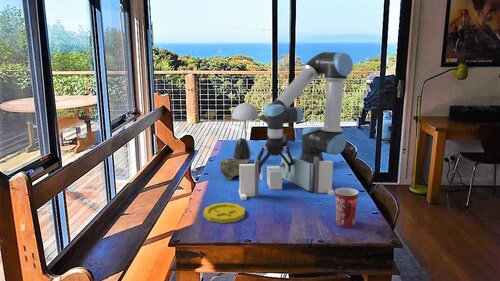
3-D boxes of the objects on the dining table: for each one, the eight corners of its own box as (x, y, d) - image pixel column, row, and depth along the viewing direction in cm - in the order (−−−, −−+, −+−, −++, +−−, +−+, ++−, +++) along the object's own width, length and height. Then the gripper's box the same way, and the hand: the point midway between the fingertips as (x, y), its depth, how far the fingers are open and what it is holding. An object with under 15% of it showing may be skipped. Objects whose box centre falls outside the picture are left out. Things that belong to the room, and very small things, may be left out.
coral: (285, 150, 275) (286, 118, 270) (255, 149, 279) (255, 117, 274) (289, 142, 299) (289, 112, 294) (261, 140, 303) (261, 111, 298)
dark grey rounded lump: (231, 165, 242) (231, 139, 239) (236, 160, 252) (235, 135, 248) (248, 166, 240) (248, 140, 236) (252, 161, 249) (252, 136, 246)
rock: (215, 179, 215) (232, 182, 211) (216, 159, 214) (233, 162, 209) (233, 173, 232) (249, 176, 228) (234, 155, 231) (250, 157, 226)
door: (314, 192, 197) (315, 163, 194) (308, 193, 196) (309, 164, 193) (283, 177, 219) (284, 151, 216) (278, 178, 218) (278, 152, 215)
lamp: (263, 152, 270) (263, 102, 263) (249, 158, 256) (249, 105, 249) (241, 149, 279) (241, 100, 272) (226, 154, 265) (226, 103, 258)
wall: (327, 187, 204) (329, 154, 200) (334, 195, 194) (336, 160, 190) (238, 192, 197) (238, 157, 194) (241, 199, 188) (241, 163, 184)
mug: (330, 219, 167) (332, 187, 164) (352, 218, 168) (354, 187, 165) (339, 233, 155) (341, 199, 152) (363, 232, 155) (365, 198, 152)
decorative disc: (201, 223, 164) (200, 218, 163) (207, 206, 181) (207, 202, 181) (243, 224, 163) (243, 219, 163) (245, 207, 180) (245, 203, 180)
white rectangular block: (278, 182, 212) (279, 165, 210) (282, 189, 202) (282, 171, 200) (267, 182, 211) (267, 166, 209) (269, 189, 201) (270, 171, 199)
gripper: (297, 134, 207) (296, 175, 211) (249, 135, 203) (248, 177, 208) (301, 137, 199) (300, 180, 204) (251, 139, 196) (250, 182, 201)
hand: (274, 178), depth 206 cm, fingers open, 12 cm apart
